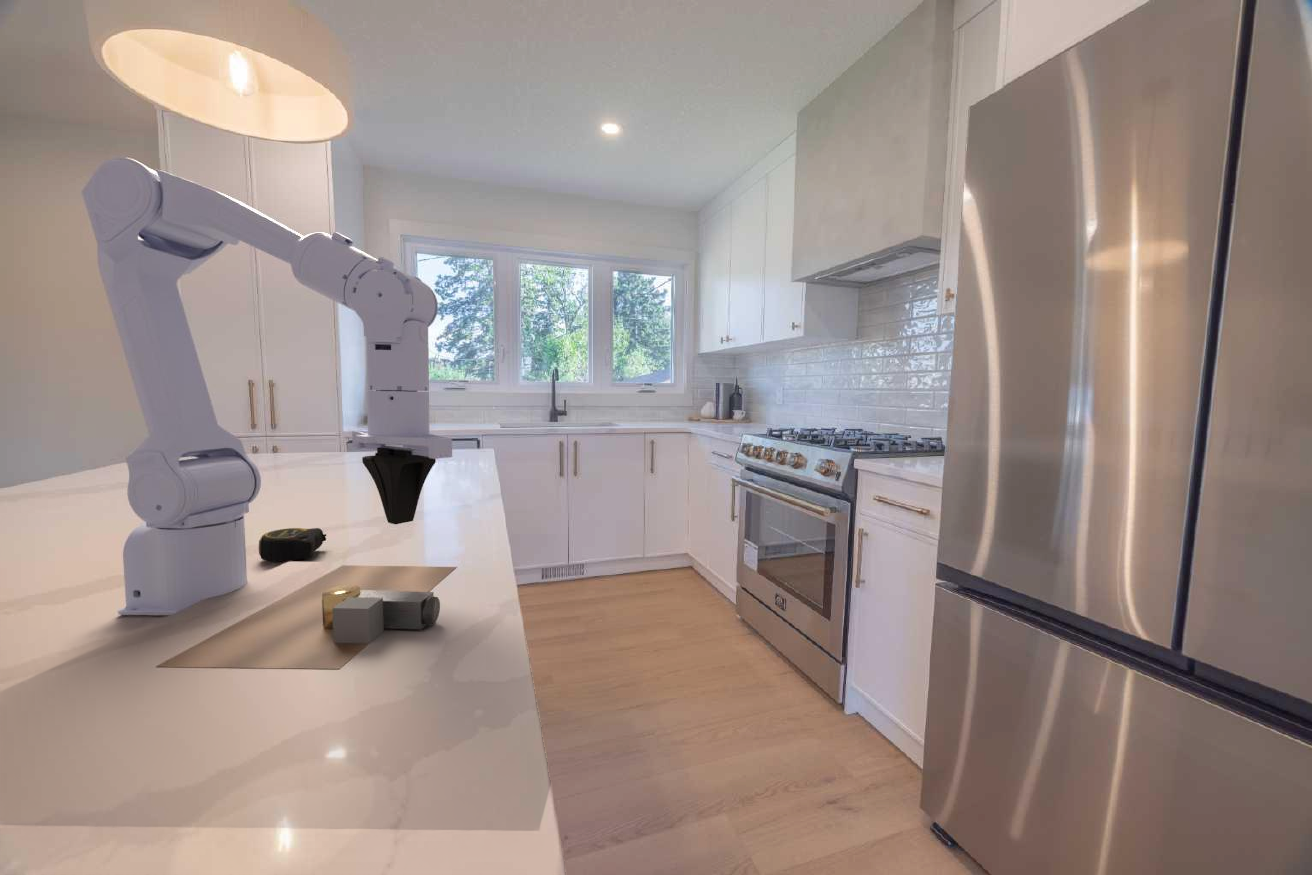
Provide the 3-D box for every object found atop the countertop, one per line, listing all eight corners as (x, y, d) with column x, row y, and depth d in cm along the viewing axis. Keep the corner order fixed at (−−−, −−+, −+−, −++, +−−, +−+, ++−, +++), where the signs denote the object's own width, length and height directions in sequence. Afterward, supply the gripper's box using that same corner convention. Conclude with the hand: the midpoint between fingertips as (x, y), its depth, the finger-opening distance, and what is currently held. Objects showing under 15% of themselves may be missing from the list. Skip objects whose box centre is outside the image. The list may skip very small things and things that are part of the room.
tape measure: (311, 565, 69) (310, 537, 68) (249, 569, 67) (248, 540, 66) (326, 550, 75) (326, 524, 75) (271, 553, 73) (270, 527, 73)
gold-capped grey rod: (315, 627, 46) (314, 596, 46) (337, 613, 49) (336, 584, 49) (426, 631, 46) (425, 600, 46) (441, 616, 49) (441, 587, 49)
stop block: (333, 642, 44) (332, 608, 44) (350, 629, 46) (349, 597, 46) (368, 642, 44) (368, 608, 44) (383, 630, 46) (382, 597, 46)
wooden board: (156, 685, 40) (155, 666, 40) (342, 577, 64) (342, 565, 64) (339, 687, 40) (339, 668, 40) (457, 578, 64) (457, 566, 64)
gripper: (320, 389, 54) (324, 518, 55) (403, 391, 46) (405, 541, 47) (387, 391, 60) (389, 507, 61) (469, 392, 52) (470, 526, 53)
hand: (400, 521), depth 54 cm, fingers closed
